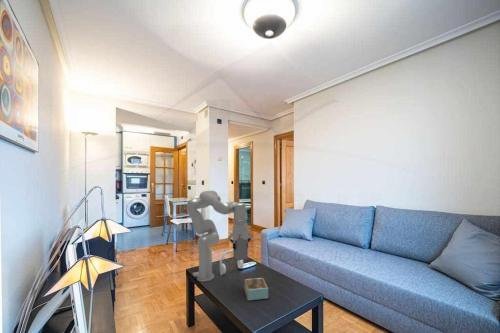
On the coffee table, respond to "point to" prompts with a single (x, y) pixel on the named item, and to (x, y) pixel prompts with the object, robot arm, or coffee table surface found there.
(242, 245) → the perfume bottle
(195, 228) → the robot arm
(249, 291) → the gate
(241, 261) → the headset
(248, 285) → the cubby
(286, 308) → the coffee table surface
